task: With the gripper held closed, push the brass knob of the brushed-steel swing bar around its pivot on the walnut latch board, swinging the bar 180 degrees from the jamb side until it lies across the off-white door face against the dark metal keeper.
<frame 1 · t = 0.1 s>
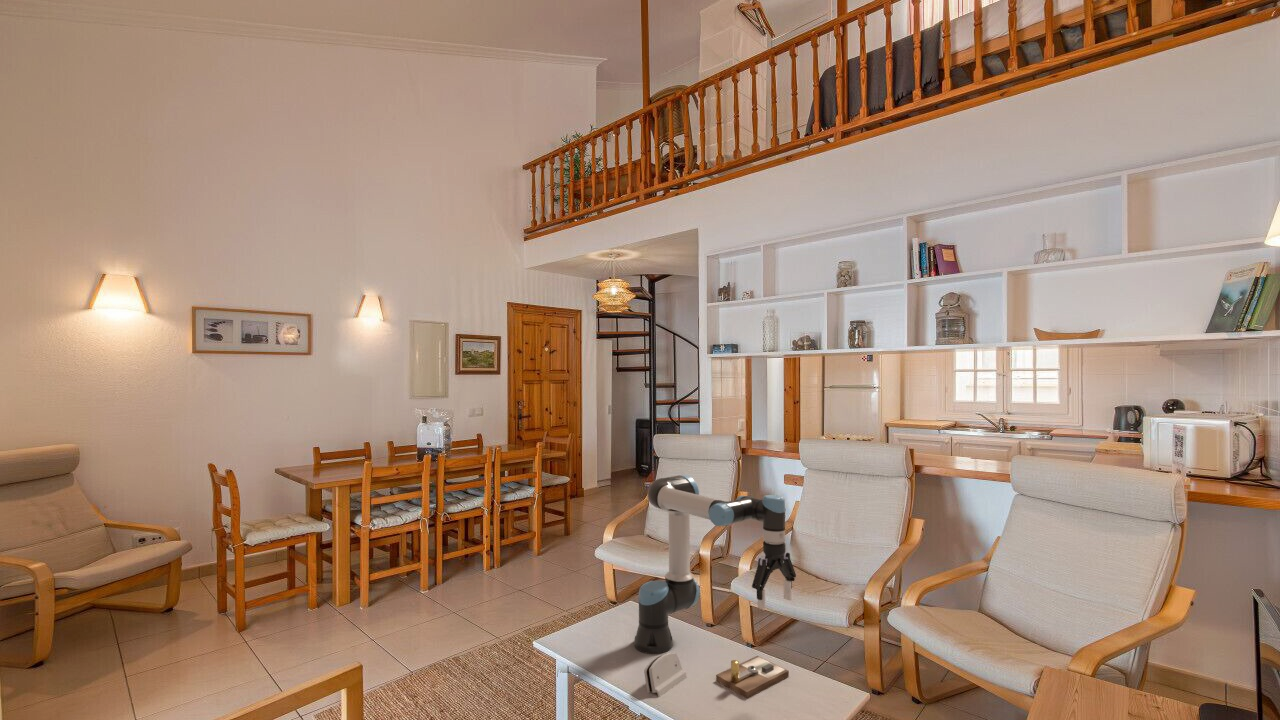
hand: (774, 604, 197), 28 cm above the table, fingers open, 13 cm apart
swing bar: (744, 666, 199), point 5 cm above the table, hinge at 0.0°
hinge: (664, 684, 199), on the table
latch board: (752, 678, 202), on the table
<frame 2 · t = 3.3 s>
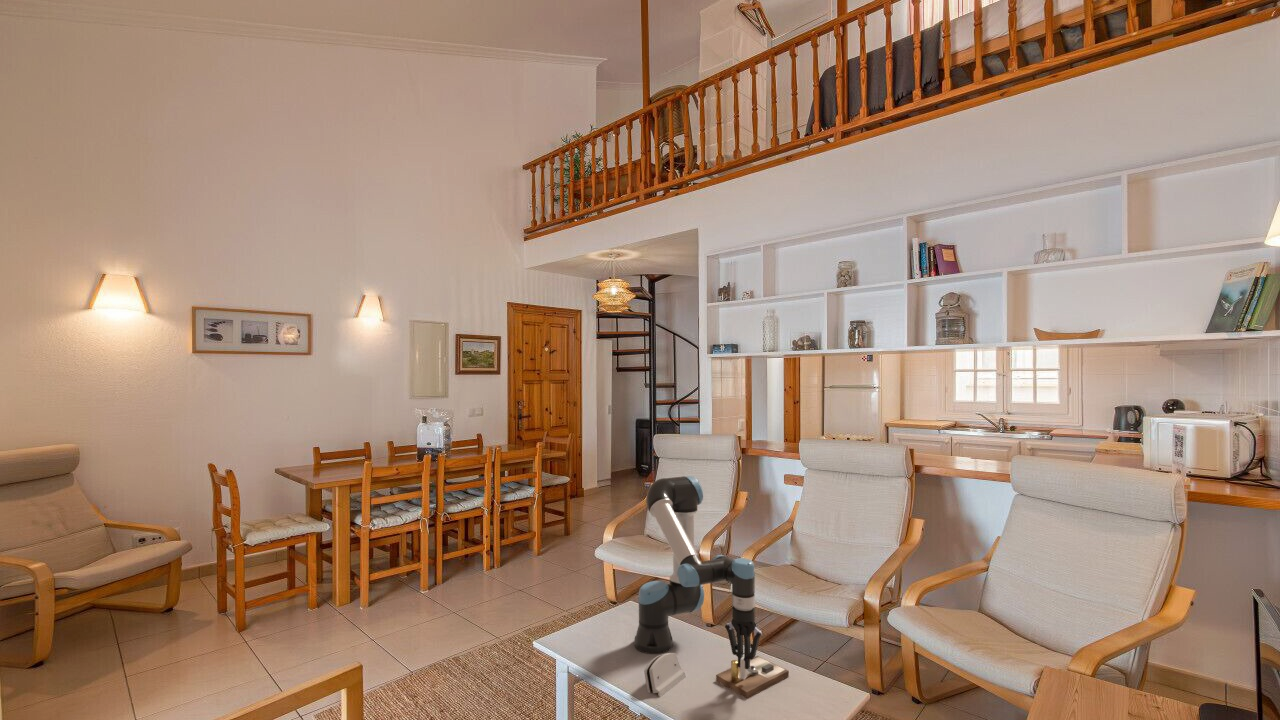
hand: (744, 677, 194), 4 cm above the table, fingers closed
swing bar: (744, 666, 199), point 5 cm above the table, hinge at 0.1°, touching gripper
everything else where it was.
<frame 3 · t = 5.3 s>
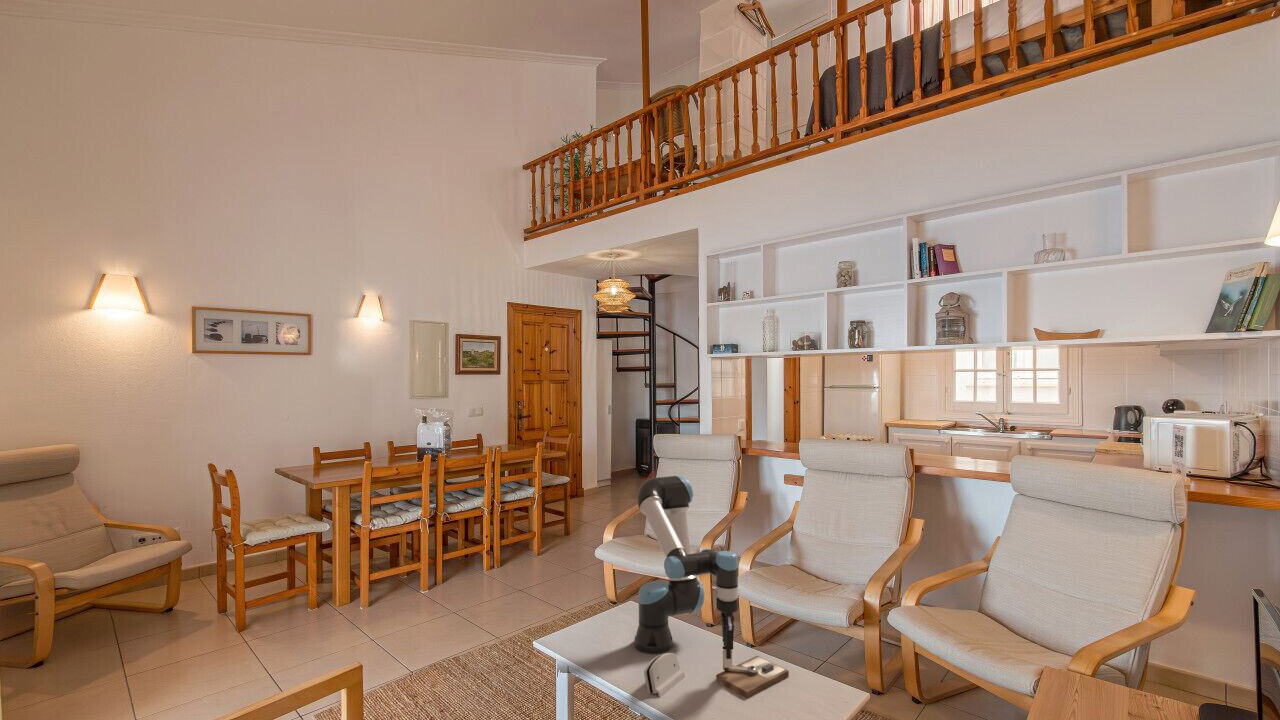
hand: (728, 666, 201), 5 cm above the table, fingers closed
swing bar: (739, 661, 203), point 5 cm above the table, hinge at 50.8°, touching gripper
everything else where it was.
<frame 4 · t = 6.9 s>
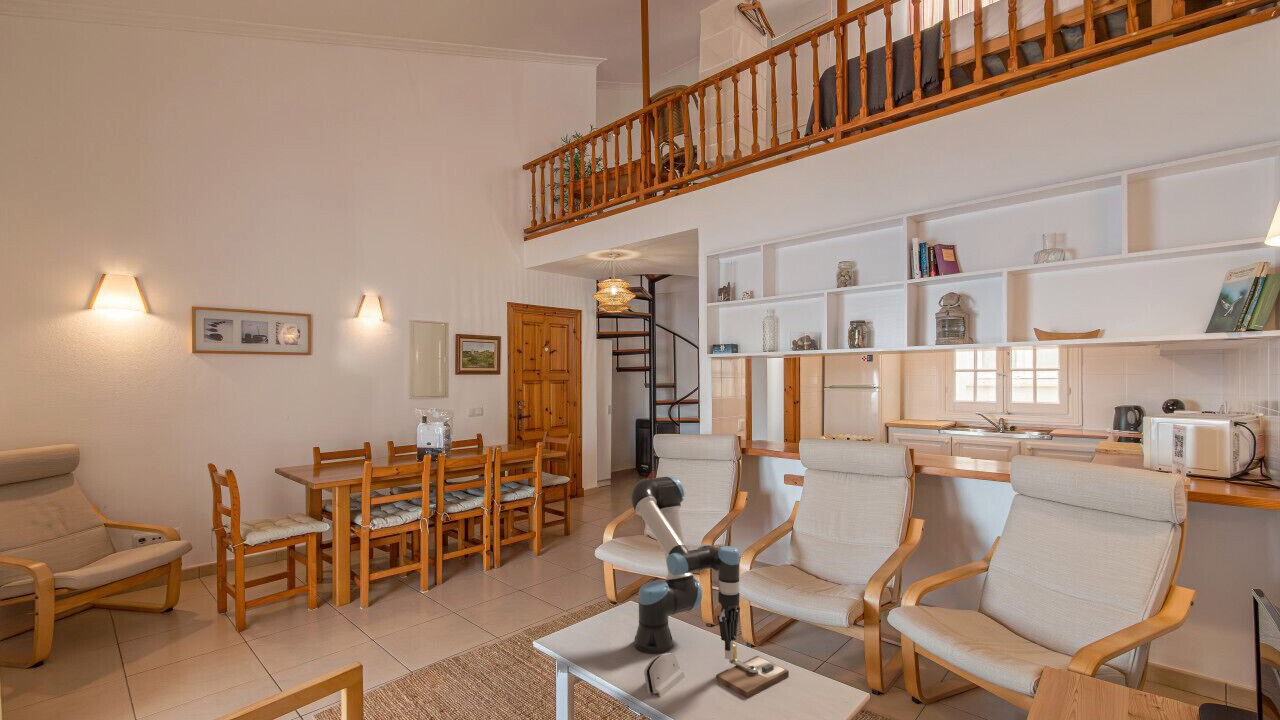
hand: (728, 658, 206), 5 cm above the table, fingers closed
swing bar: (742, 658, 205), point 5 cm above the table, hinge at 89.1°, touching gripper
everything else where it was.
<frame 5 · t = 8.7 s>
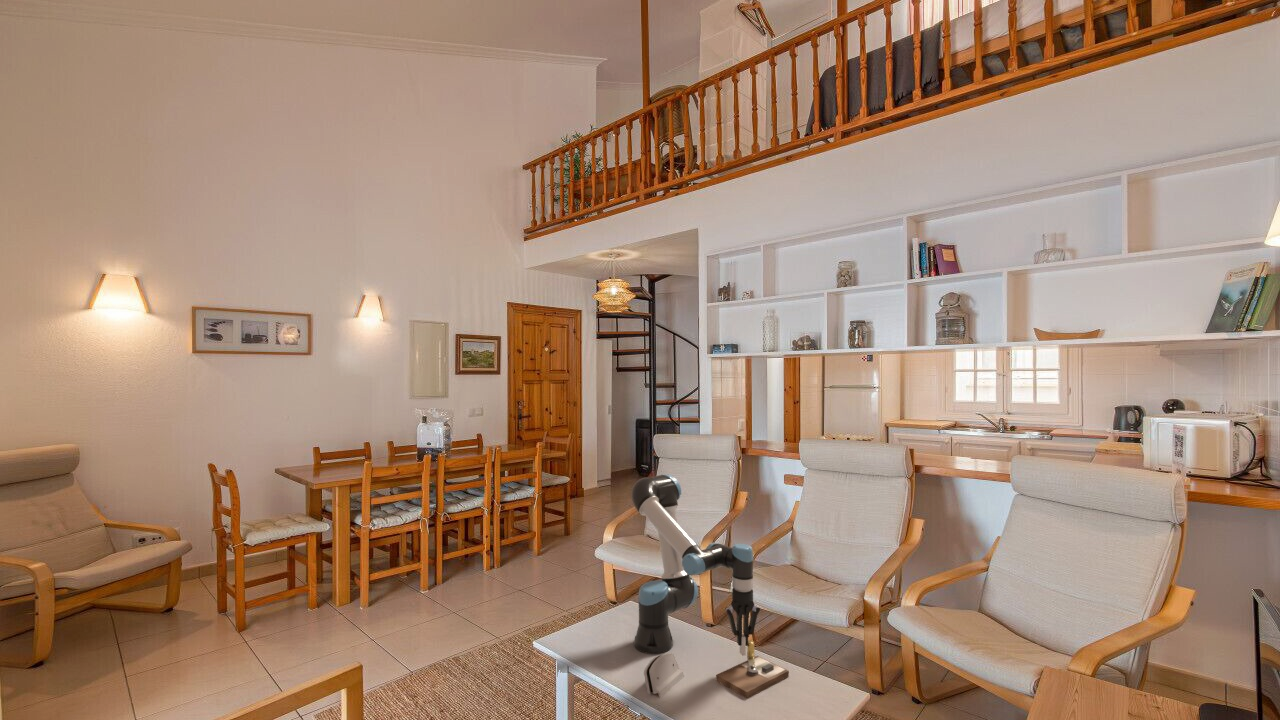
hand: (742, 653, 210), 5 cm above the table, fingers closed
swing bar: (751, 656, 206), point 5 cm above the table, hinge at 135.6°, touching gripper
everything else where it was.
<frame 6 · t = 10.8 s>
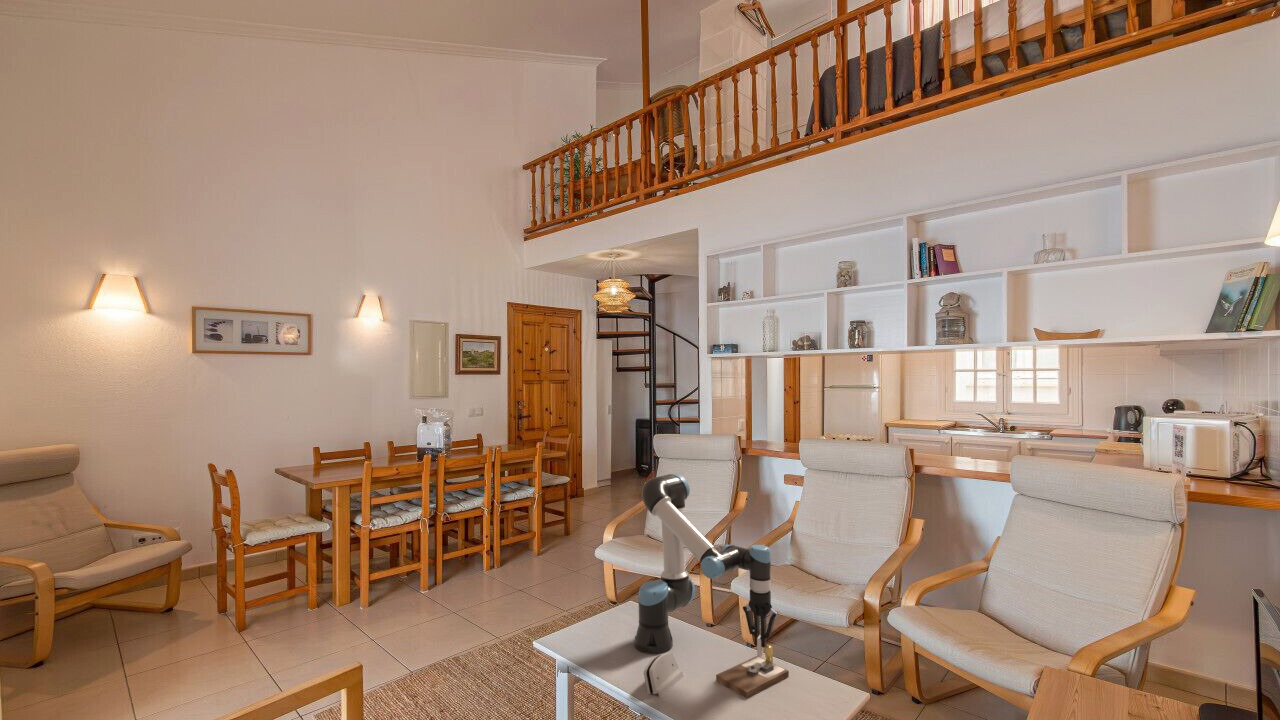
hand: (760, 655, 209), 4 cm above the table, fingers closed
swing bar: (760, 659, 205), point 5 cm above the table, hinge at 179.4°
everything else where it was.
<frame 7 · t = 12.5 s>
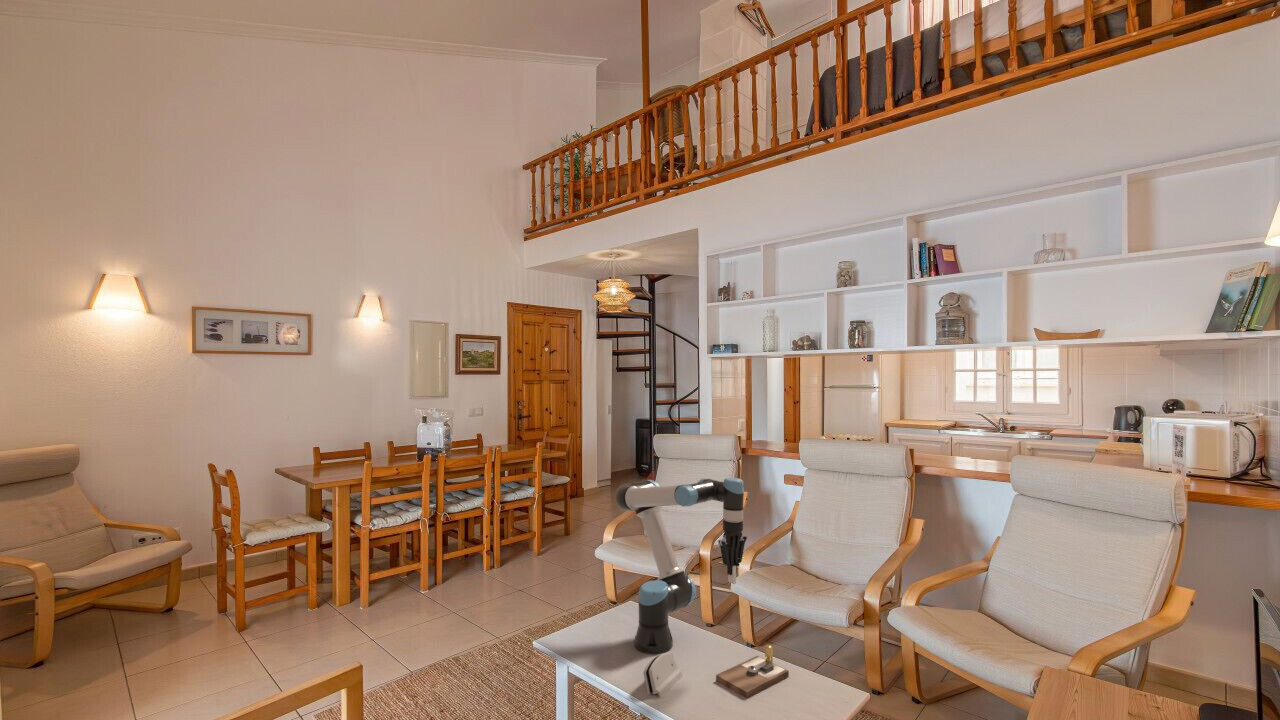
hand: (732, 582, 217), 28 cm above the table, fingers closed
nothing on the table moved.
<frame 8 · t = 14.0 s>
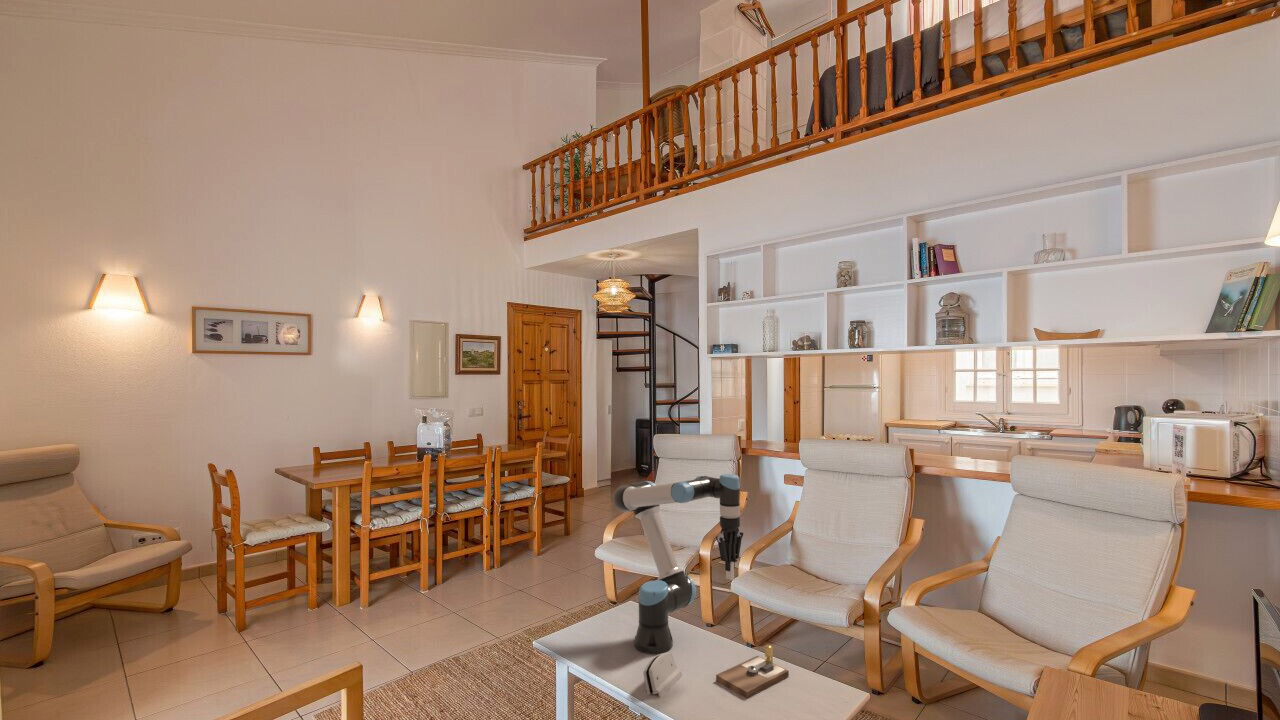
hand: (730, 578, 217), 29 cm above the table, fingers closed
at the end: swing bar at +179° (first picture: +0°) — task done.
